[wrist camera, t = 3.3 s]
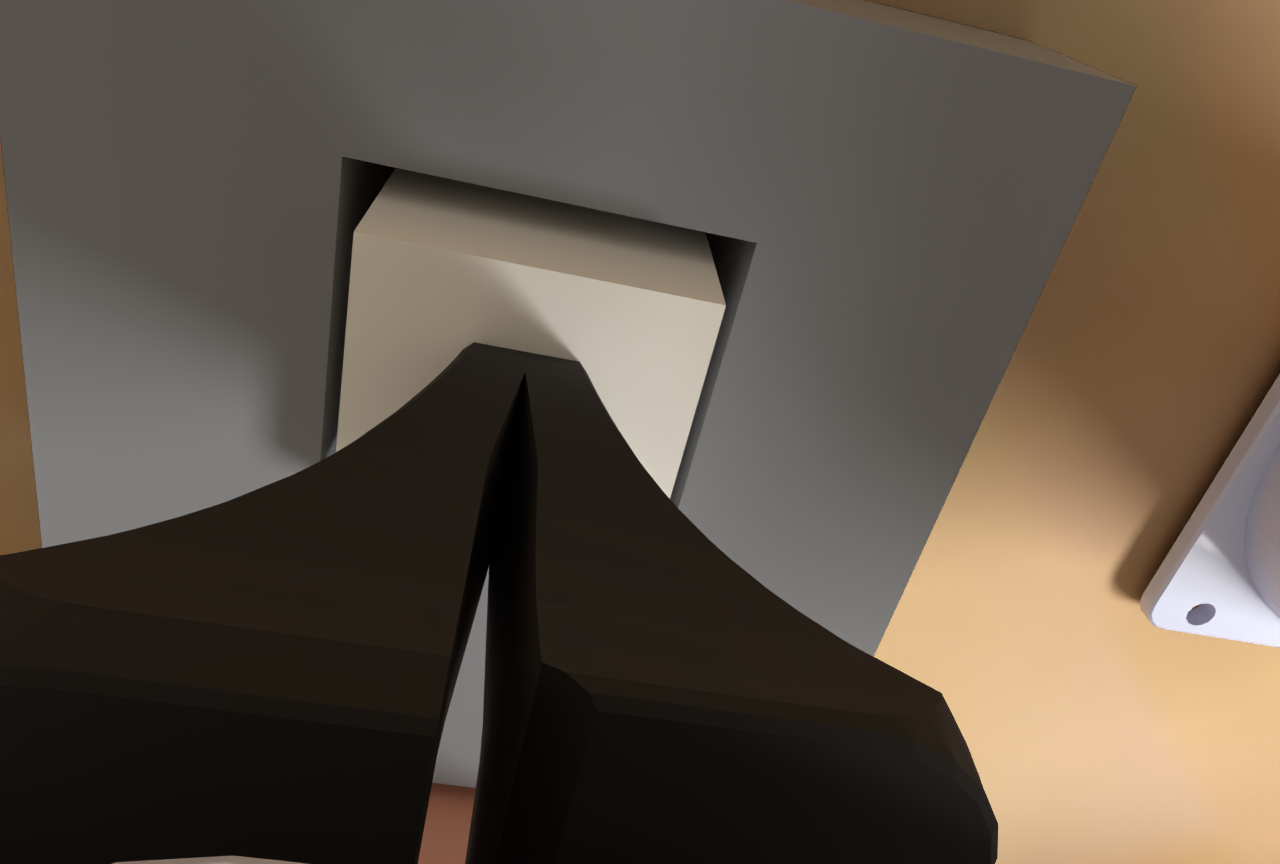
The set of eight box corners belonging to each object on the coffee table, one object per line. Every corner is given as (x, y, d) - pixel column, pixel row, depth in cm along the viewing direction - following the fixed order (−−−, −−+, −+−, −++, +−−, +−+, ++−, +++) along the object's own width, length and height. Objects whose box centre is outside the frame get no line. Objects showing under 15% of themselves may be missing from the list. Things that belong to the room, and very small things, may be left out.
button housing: (1031, 42, 13) (1135, 86, 11) (680, 919, 23) (690, 1053, 20) (107, -189, 12) (-35, -203, 9) (150, 864, 21) (88, 1002, 19)
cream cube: (695, 195, 14) (726, 305, 11) (634, 429, 16) (644, 586, 13) (416, 136, 13) (353, 231, 10) (389, 386, 15) (329, 538, 12)
